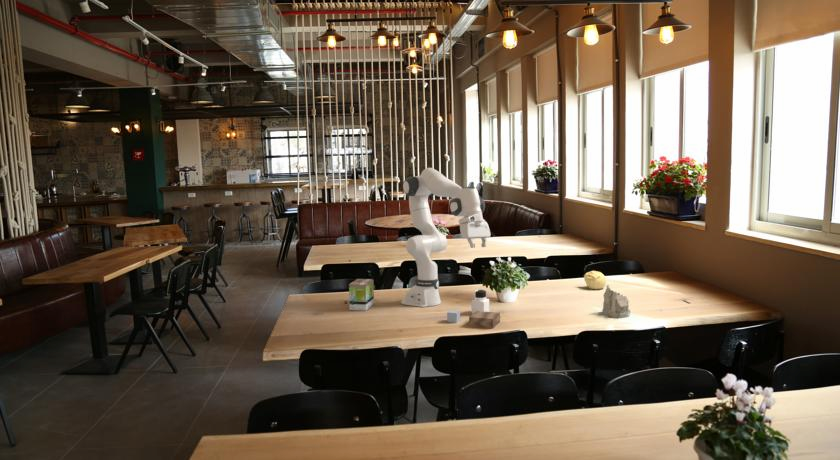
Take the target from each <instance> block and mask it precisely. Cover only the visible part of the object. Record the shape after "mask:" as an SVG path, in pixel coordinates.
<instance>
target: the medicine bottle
mask: <svg viewBox="0 0 840 460" xmlns="http://www.w3.org/2000/svg"><path fill="white" fill-rule="evenodd" d="M470 301H471V303H470V304H471V315H472V314H474V313H475V312H476V311H484V312H490V299H489V298H487V291H486V290H484V289H476V290H475V291H474V299H472V300H470Z"/></svg>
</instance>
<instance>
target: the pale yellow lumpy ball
mask: <svg viewBox="0 0 840 460" xmlns="http://www.w3.org/2000/svg"><path fill="white" fill-rule="evenodd" d="M583 278H584V279H583V280H584V283H585V284H586V287H587V288H588V289H591V290H601V289H603V288H605V286H606V283H607V279H606V276H605V275H604V274H603V273H602V272H601V271H598V270H597V271H596V270H591V271H588V272H586V273H585V274H584V275H583Z"/></svg>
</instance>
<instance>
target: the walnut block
mask: <svg viewBox="0 0 840 460" xmlns="http://www.w3.org/2000/svg"><path fill="white" fill-rule="evenodd" d="M500 322H501V313H500V312H495V311H494V312H493V311H489V312H484V311H476V312H475V313H474V314H472V313H471V315H470V316H469V317H468V325H469V327H473V328H484V329H494V328H495V327H496V326H497V325H499V324H500Z"/></svg>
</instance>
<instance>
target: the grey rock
mask: <svg viewBox="0 0 840 460" xmlns="http://www.w3.org/2000/svg"><path fill="white" fill-rule="evenodd" d="M629 303H630V301H629V300H628V297H627V296H625V295H623V294H621V292H617V291H616V290H615V291H614V290H613V289H611V287H610V285H608V284H607V285H606V289H605V291H604V293H603V304H602V305H603V307H602V309H601V310H602V311H601V313H602V314H603V315H605V316H607V317H611V318H615V319H625V318H628V317H630V316H631V312H632V310H631V309H629V306H630V305H629Z"/></svg>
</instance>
